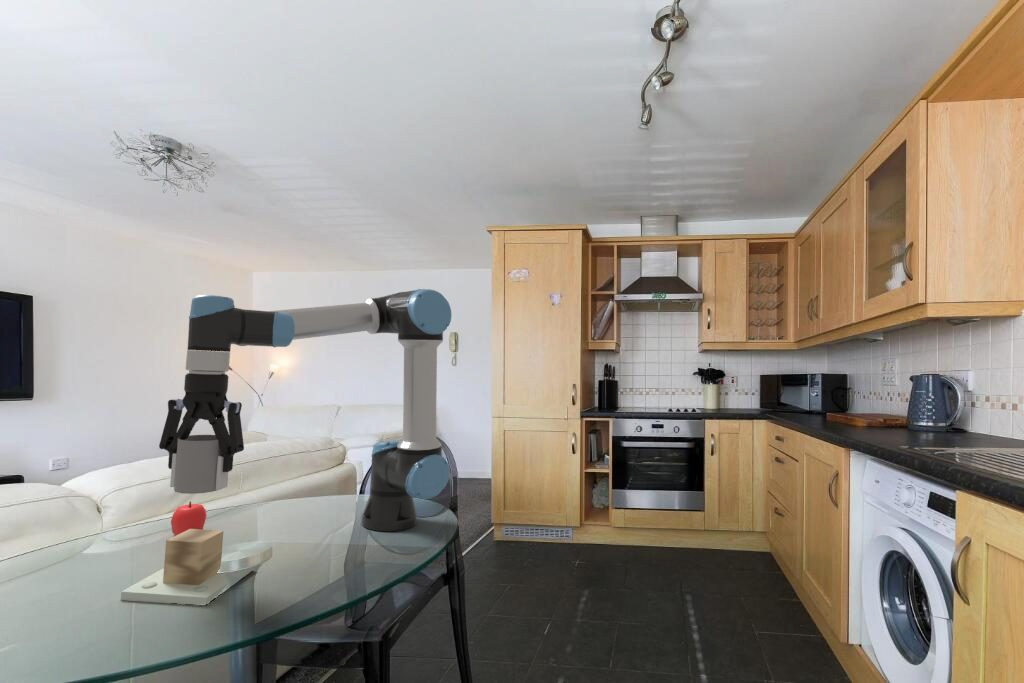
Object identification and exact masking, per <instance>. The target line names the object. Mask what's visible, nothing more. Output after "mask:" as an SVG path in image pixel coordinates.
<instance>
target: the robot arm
mask: <svg viewBox="0 0 1024 683" xmlns="http://www.w3.org/2000/svg"><path fill="white" fill-rule="evenodd" d="M449 303H450V302H449V301H448V299H447V298H445V296H444V295H443V294H442V293H441V292H439V291H437V290H435V289H430V288H429V289H428V288H427V289H426V288H423V289H421V288H419V289H413V290H408V291H400V292H396V293H392V294H389V295H385V296H380V297H374V298H367V299H365V300H364V301H363V302H361V303H348V304H337V305H336V304H335V305H325V306H324V305H323V306H313V307H303V308H302V307H301V308H293V309H292V308H291V309H290V308H289V309H280V310H277V309H276V310H268V311H267V310H266V311H265V310H256V309H243V308H239V307H236V306H235V302H234V299H233V298H232V297H229V296H222V295H211V294H198V295H195V296H194V297H193V298H192V299H191V304H190V311H189V312H190V313H189V316H188V319H189V321H188V334H187V335H188V338H187V350H186V360H185V361H186V362H185V370H186V371H188V372H187V373H186V374H185V375H184V376H185V377H184V385H183V386H184V388H183V390H184V393H185V394H184V396H183V397H182V399H181V398H175V399H169V400H168V401H167V407H168V408H167V410H168V412H167V417H166V420H165V423H164V426H163V430H162V434H161V437H160V441H159V446H158V447H159V449H160V450H165V451H167V452H168V465H167V467H168V469H169V470H171V471H170V483H169V484H170V485H169V487H170V488H174V482H175V469H176V456H177V443H178V438H179V437H180V440H185V439H187V438H188V436H189V435H191V433H192V431H193V430H194V427H195V425H196V423H197V422H198V421H199V420H204V421H208V423H209V425H210V426H211V427H212V429H213V430H212V431H213V434H214V435H215V436H216V438H217V440H218V444H219V447H220V449H221V452H222V454H221V455H220V456H218V462H217V476H216V490H217V491H221V490H223V489H225V488H228V484H229V483H228V481H229V472H232V470H233V467H234V465H233V464H234V456H235V454H237V453H241V452H243V451H244V449H245V444H244V436H243V429H242V421H241V420H242V419H241V411H242V406H243V405H242V404H243V403H242V402H240V401H237V402H233V401H229V400H228V398H227V392H228V389H229V375H228V374H226V372H228V371H230V358H231V347H232V345H236V346H239V347H247V346H250V347H251V346H253V347H272V348H278V347H279V348H287V347H288V346H290V345H291V343H292V342H293V341H295V340H302V339H311V338H317V337H318V338H319V337H326V336H328V337H329V336H334V335H342V334H343V335H344V334H345V335H346V334H350V333H351V334H352V333H353V334H354V333H360V332H361V333H362V332H368V333H369V334H370V335H376V334H397V341H398V342H399V343H400V344H401V346H402V347H403V408H402V409H403V411H402V412H403V413H402V415H403V416H402V418H403V419H402V420H403V421H402V422H403V423H402V439H401V440H384V441H377V442H375V443H374V444H373V446H372V451H371V467H370V468H371V469H370V483H369V484H370V486H369V487H370V489H369V496H368V499H367V502H366V505H365V507H364V509H363V512H362V514H361V525H362V527H363V528H366V529H369V530H372V531H377V532H397V531H403V530H408V529H411V528H413V527H414V526H416V525H417V524H418V523H417V521H418V513H417V509H416V505H415V501H414V499H418V500H430V499H433V498H435V497H437V496H438V495H439V494H440V493H442V490H444V489H445V488H446V485H447V484H448V483H449V479H450V472H451V469H450V465H449V462H448V461H447V460H446V458H445V457H444V456H442V455H443V454H442V453H443V452H442V448H443V447H442V446H443V445H442V443H441V441H439V439H438V438H437V393H438V392H437V390H438V389H437V380H438V379H437V378H438V377H437V375H438V374H437V373H438V372H437V371H438V370H437V369H438V348H439V346H440V345H441V344H442V343H443V342H444V332H445V331H446V330H447V329H448V327H450V324H451V321H452V309H451V306H450V304H449ZM184 408H185V409H186V412H185V413H184V416H183V417H182V414H183V409H184ZM224 410H225V412H227V424H228V425H226V423H225V422H226V419H225V418H226V417H225V416H224V413H223V411H224ZM181 418H182V422H181ZM180 422H181V424H180ZM227 426H228V428H227ZM413 498H414V499H413Z"/></svg>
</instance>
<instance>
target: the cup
mask: <svg viewBox="0 0 1024 683" xmlns="http://www.w3.org/2000/svg"><path fill="white" fill-rule="evenodd" d="M221 454H222V452H221V449H220V447H219V444H218V440H217V438H216V436H215V434H193V435H192V434H190V435H189V436H188V438H187V439H185V440H180V437H179V438H178V443H177V456H176V469H175V482H174V487H173V491H174V492H175V493H179V494H186V495H187V494H188V495H193V494H205V493H206V494H207V493H212V492H217V491H218V490H216V476H217V462H218V456H220V455H221Z"/></svg>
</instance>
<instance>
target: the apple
mask: <svg viewBox="0 0 1024 683" xmlns="http://www.w3.org/2000/svg"><path fill="white" fill-rule="evenodd" d="M206 519H207V510H206V508H205V506H204V505H203V504H198V503H197V504H196V503H193V504H192V501H189V503H188V504H184V505H179V506H178V507H177V508H176V509H175V511H174V512H173V513H172V516H171V519H170V520H171V521H170V525H171V532H172V534H174V536H176V535H178V534H180V533H182V532H184V531H186V530H189V529H201V530H204V526H205V523H206Z"/></svg>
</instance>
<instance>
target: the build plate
mask: <svg viewBox="0 0 1024 683" xmlns="http://www.w3.org/2000/svg"><path fill="white" fill-rule="evenodd" d="M163 574H164V567H163V568H161V569H159V570H158V571H155V572H154V573H152V574H150V575H149V576H147V577H145V578H143V579H141V580H140V581H138V582H135V583H134V584H133V585H131V586H128V587H127V588H124V590H122V591H121V592H120V601H127V602H128V601H131V602H144V603H159V604H160V603H161V604H171V603H177V604H176V605H185V604H207V603H208V602H209V601H211V600H212V599H213V598H214V597H215V596H217V595H218V594H219V593H220V592H222V590H223V589H224V588H225V586H226V585H227V583H228V581H226V579H225V578H224V577H223V576H222V575H221V574H218V573H216V574H215V575H213V576H212V577H210V578H209V579H207V580H206V581H204V582H203V583H201V584H200V585H187V584H172V583H163Z"/></svg>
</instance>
